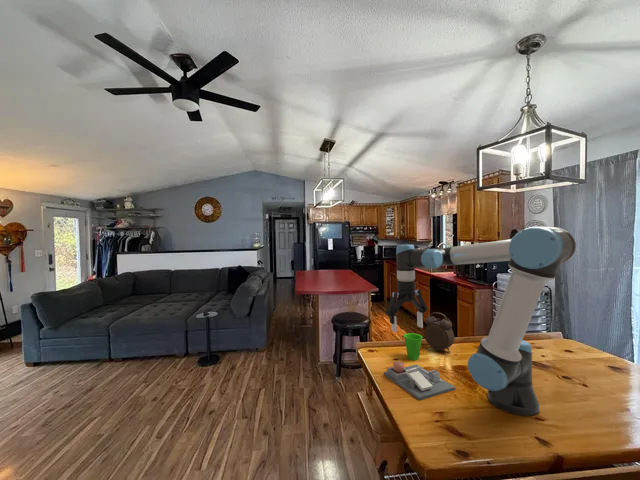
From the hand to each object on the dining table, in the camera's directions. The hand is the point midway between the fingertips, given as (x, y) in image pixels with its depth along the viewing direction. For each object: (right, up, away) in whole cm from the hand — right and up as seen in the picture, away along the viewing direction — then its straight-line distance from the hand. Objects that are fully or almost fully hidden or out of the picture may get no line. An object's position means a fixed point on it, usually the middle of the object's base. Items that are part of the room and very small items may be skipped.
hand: (407, 329), depth 123 cm
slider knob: (+9, -19, -7) cm, 22 cm away
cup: (+9, -20, +18) cm, 28 cm away
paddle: (+2, -17, -10) cm, 20 cm away
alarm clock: (+25, -20, +27) cm, 42 cm away
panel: (+3, -20, -5) cm, 21 cm away
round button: (-4, -18, -1) cm, 18 cm away
